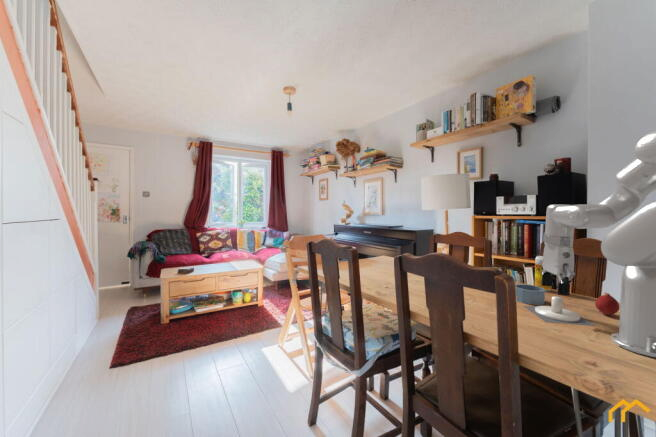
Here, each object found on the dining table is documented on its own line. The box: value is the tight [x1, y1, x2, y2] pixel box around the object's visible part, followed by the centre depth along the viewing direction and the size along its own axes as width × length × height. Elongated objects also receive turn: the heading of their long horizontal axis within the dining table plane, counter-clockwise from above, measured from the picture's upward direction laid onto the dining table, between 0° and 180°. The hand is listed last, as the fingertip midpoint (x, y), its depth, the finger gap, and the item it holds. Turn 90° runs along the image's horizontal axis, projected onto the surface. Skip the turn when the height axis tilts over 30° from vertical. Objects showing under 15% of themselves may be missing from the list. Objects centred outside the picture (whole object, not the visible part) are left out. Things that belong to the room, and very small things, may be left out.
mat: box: [523, 305, 597, 327], centre depth 96 cm, size 15×14×1 cm
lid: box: [534, 295, 581, 322], centre depth 96 cm, size 12×12×6 cm
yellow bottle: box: [534, 255, 553, 292], centre depth 126 cm, size 6×6×15 cm
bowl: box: [516, 283, 546, 306], centre depth 111 cm, size 10×10×6 cm
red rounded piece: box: [594, 292, 620, 316], centre depth 96 cm, size 6×6×8 cm
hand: (554, 290), depth 96 cm, fingers open, 9 cm apart
